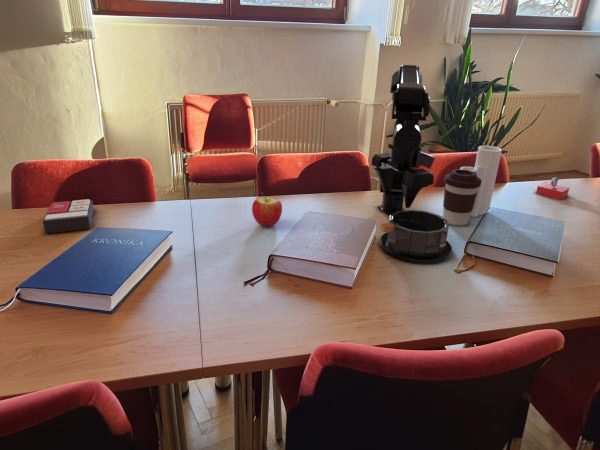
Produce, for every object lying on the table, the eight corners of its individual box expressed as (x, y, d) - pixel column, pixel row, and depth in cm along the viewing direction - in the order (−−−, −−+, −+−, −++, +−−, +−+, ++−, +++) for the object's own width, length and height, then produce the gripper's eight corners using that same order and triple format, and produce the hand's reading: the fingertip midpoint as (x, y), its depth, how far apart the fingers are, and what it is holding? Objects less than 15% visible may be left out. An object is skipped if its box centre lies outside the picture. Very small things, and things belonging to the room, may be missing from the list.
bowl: (394, 261, 105) (397, 237, 102) (367, 236, 117) (369, 214, 115) (456, 252, 110) (460, 228, 108) (423, 229, 123) (427, 207, 120)
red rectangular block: (535, 193, 156) (540, 176, 153) (543, 189, 160) (547, 172, 157) (560, 199, 150) (565, 182, 148) (567, 195, 154) (572, 178, 152)
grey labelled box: (91, 197, 131) (87, 213, 118) (94, 211, 133) (90, 228, 120) (50, 201, 128) (41, 218, 115) (53, 215, 129) (45, 233, 116)
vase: (478, 205, 143) (490, 145, 135) (494, 214, 137) (508, 150, 129) (449, 209, 139) (460, 147, 131) (464, 218, 133) (477, 153, 125)
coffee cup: (475, 229, 126) (485, 179, 120) (439, 226, 128) (447, 176, 121) (470, 216, 135) (479, 169, 129) (436, 213, 136) (444, 166, 130)
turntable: (366, 238, 119) (367, 234, 118) (421, 228, 126) (422, 224, 125) (406, 269, 104) (407, 265, 103) (466, 257, 110) (467, 252, 110)
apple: (249, 220, 128) (248, 187, 124) (277, 217, 131) (277, 185, 127) (255, 231, 121) (255, 197, 117) (285, 228, 123) (286, 194, 119)
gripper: (457, 147, 101) (446, 210, 108) (409, 129, 117) (402, 185, 123) (417, 152, 97) (408, 216, 104) (373, 132, 113) (367, 190, 119)
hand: (397, 201), depth 113 cm, fingers open, 9 cm apart
